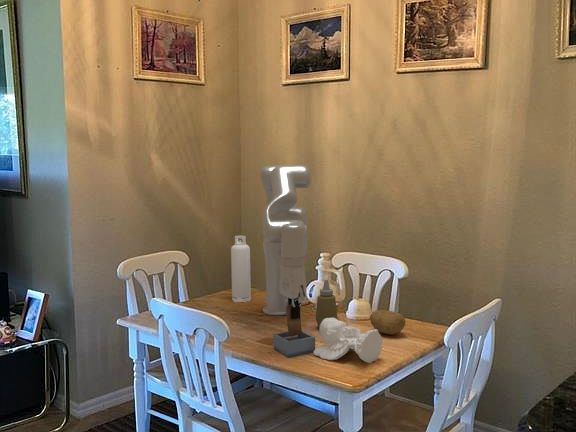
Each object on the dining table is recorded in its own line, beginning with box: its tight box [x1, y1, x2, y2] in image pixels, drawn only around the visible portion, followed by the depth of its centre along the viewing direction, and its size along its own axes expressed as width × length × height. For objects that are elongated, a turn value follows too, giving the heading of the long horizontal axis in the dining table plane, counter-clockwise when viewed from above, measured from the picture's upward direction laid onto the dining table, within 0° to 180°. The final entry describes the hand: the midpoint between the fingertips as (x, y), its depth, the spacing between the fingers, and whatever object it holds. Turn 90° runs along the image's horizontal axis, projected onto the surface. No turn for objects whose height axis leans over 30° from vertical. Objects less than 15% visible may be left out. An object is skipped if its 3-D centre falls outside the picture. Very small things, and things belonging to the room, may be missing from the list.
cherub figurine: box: [313, 318, 384, 364], centre depth 190 cm, size 13×12×20 cm
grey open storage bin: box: [272, 330, 316, 359], centre depth 197 cm, size 10×10×5 cm
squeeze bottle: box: [315, 279, 339, 330], centre depth 219 cm, size 8×8×18 cm
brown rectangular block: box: [285, 304, 303, 337], centre depth 196 cm, size 2×4×10 cm, turn 120°
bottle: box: [230, 235, 252, 303], centre depth 260 cm, size 8×8×28 cm
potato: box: [369, 309, 406, 335], centre depth 214 cm, size 10×14×8 cm
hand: (293, 317), depth 196 cm, fingers closed on brown rectangular block, 1 cm apart
